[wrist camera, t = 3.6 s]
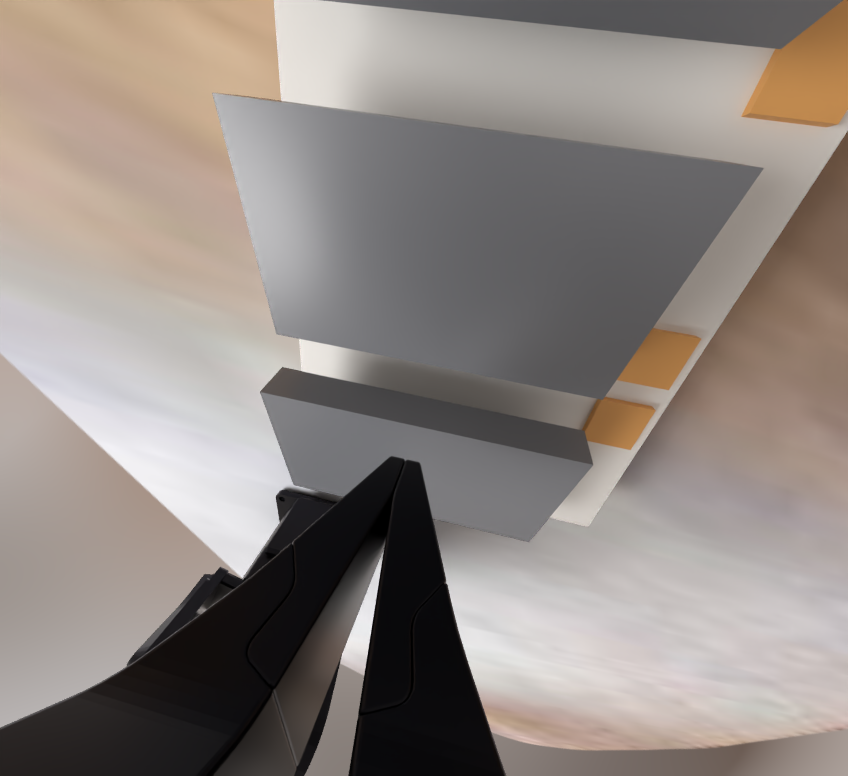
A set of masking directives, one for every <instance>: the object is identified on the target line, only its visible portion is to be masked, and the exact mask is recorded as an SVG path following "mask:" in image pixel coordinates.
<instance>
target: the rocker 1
mask: <svg viewBox="0 0 848 776" xmlns="http://www.w3.org/2000/svg"><path fill="white" fill-rule="evenodd" d="M212 94H213V98H214V101H215V105H216V109H217V113H218V116H219V120H220V124H221V128H222V131H223V135H224V139H225V143H226V146H227V150H228V154H229V158H230V161H231V165H232V169H233V173H234V176H235V180H236V184H237V188H238V191H239V195H240V199H241V203H242V206H243V210H244V214H245V218H246V221H247V225H248V229H249V233H250V236H251V240H252V244H253V248H254V251H255V255H256V259H257V263H258V266H259V270H260V274H261V278H262V281H263V285H264V289H265V293H266V296H267V300H268V304H269V308H270V311H271V315H272V319H273V323H274V326H275V330H276V334H278V335H283V336H288V337H293V338H298V339H303V340H308V341H313V342H318V343H323V344H328V345H333V346H338V347H343V348H348V349H353V350H358V351H362V352H367V353H372V354H377V355H382V356H387V357H392V358H397V359H402V360H407V361H412V362H417V363H422V364H427V365H432V366H437V367H442V368H447V369H452V370H457V371H462V372H467V373H472V374H477V375H482V376H486V377H491V378H496V379H501V380H506V381H511V382H516V383H521V384H526V385H531V386H536V387H541V388H546V389H551V390H556V391H561V392H566V393H571V394H576V395H581V396H586V397H591V398H596V399H601V400H603V399H604V397H605V396H606V395H607V393H608V392H609V390H610V389H611V387H612V386H613V384H614V383H615V382H616V380H617V379H618V377H619V376H620V374H621V373H622V372H623V370H624V369H625V367H626V366H627V364H628V363H629V361H630V360H631V359H632V357H633V356H634V354H635V353H636V351H637V350H638V349H639V347H640V346H641V344H642V343H643V341H644V340H645V338H646V337H647V336H648V334H649V333H650V331H651V330H652V328H653V327H654V326H655V324H656V323H657V321H658V320H659V318H660V317H661V315H662V314H663V313H664V311H665V310H666V308H667V307H668V305H669V304H670V303H671V301H672V300H673V298H674V297H675V295H676V294H677V292H678V291H679V290H680V288H681V287H682V285H683V284H684V282H685V281H686V280H687V278H688V277H689V275H690V274H691V272H692V271H693V269H694V268H695V267H696V265H697V264H698V262H699V261H700V259H701V258H702V257H703V255H704V254H705V252H706V251H707V249H708V248H709V246H710V245H711V244H712V242H713V241H714V239H715V238H716V236H717V235H718V234H719V232H720V231H721V229H722V228H723V226H724V225H725V223H726V222H727V221H728V219H729V218H730V216H731V215H732V213H733V212H734V211H735V209H736V208H737V206H738V205H739V203H740V202H741V200H742V199H743V198H744V196H745V195H746V193H747V192H748V190H749V189H750V188H751V186H752V185H753V183H754V182H755V180H756V179H757V177H758V176H759V175H760V173H761V172H762V170H763V169H764V168H761V167H755V166H750V165H744V164H738V163H733V162H727V161H721V160H713V159H706V158H699V157H691V156H684V155H677V154H669V153H662V152H655V151H647V150H640V149H632V148H625V147H618V146H610V145H603V144H596V143H588V142H581V141H574V140H566V139H559V138H552V137H544V136H537V135H529V134H522V133H515V132H507V131H500V130H493V129H485V128H478V127H471V126H463V125H456V124H449V123H441V122H434V121H426V120H419V119H412V118H404V117H397V116H390V115H382V114H375V113H368V112H360V111H353V110H346V109H338V108H331V107H323V106H316V105H309V104H301V103H294V102H287V101H279V100H272V99H265V98H257V97H249V96H239V95H229V94H219V93H212Z"/></svg>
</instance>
